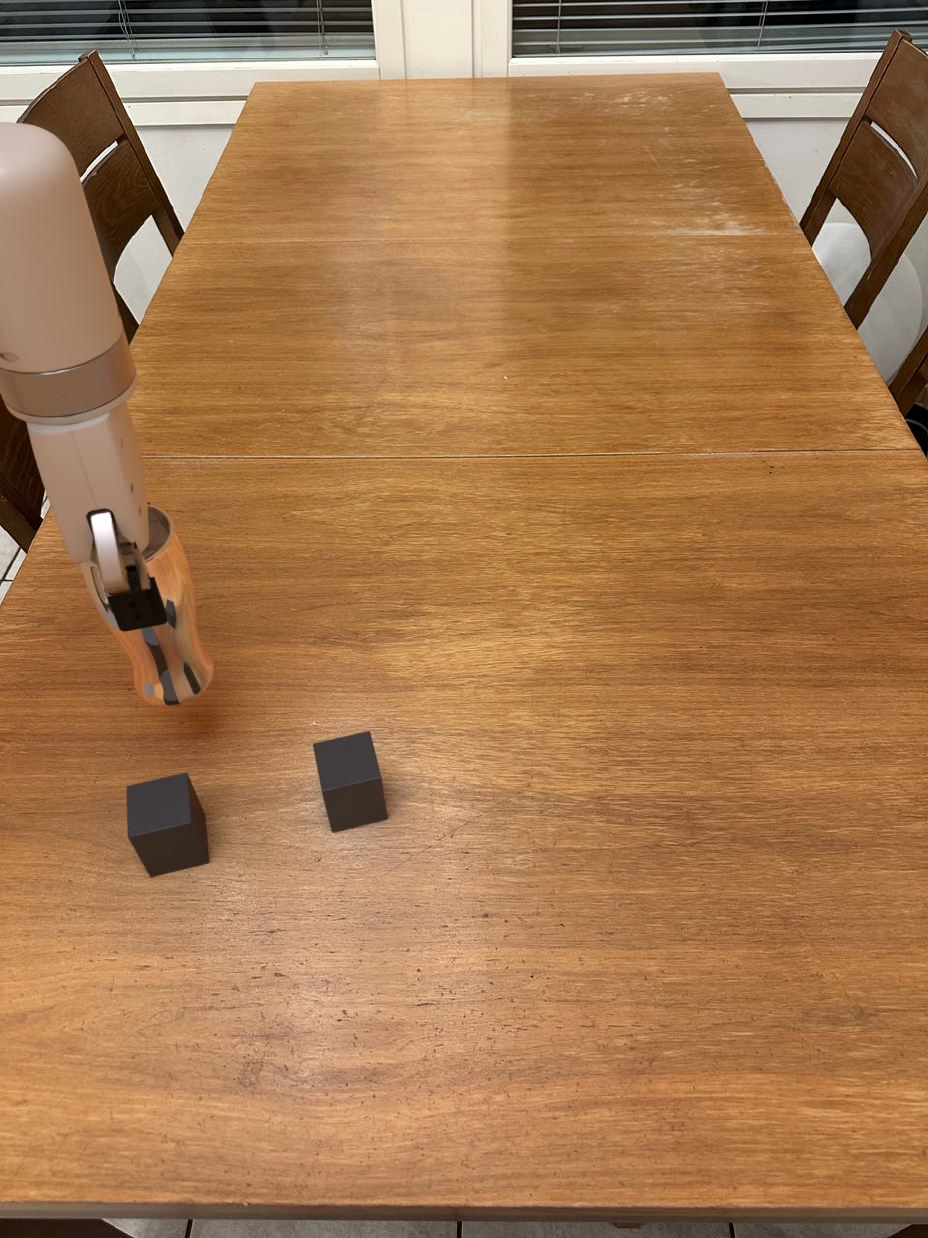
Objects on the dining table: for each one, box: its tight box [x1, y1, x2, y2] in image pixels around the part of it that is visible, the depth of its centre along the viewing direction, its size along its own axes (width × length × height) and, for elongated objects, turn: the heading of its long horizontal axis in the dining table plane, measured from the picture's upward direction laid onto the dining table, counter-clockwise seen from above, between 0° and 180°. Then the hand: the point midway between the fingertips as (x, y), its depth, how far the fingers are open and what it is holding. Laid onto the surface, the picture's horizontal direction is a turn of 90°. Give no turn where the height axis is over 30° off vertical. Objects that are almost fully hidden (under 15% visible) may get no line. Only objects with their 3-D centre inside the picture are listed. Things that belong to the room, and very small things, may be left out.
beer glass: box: [79, 504, 215, 708], centre depth 69 cm, size 7×7×15 cm
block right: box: [312, 730, 389, 833], centre depth 74 cm, size 4×4×6 cm
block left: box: [125, 772, 210, 878], centre depth 71 cm, size 4×4×6 cm
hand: (142, 584), depth 67 cm, fingers closed on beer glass, 7 cm apart
